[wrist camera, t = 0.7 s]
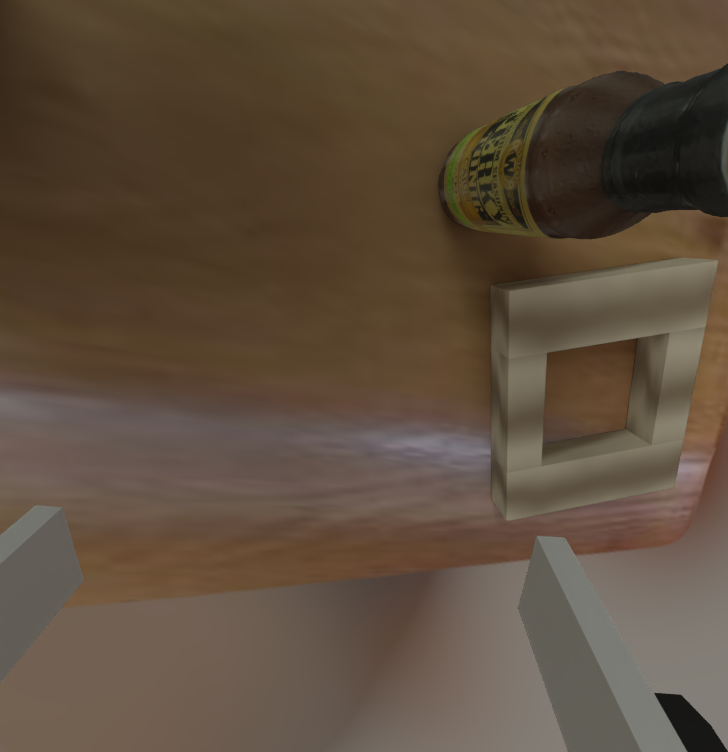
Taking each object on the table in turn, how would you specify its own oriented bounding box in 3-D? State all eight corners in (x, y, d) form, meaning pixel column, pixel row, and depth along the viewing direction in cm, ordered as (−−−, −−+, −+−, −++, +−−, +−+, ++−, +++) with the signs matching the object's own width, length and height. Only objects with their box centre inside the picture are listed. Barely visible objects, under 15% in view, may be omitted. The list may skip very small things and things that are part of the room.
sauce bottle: (437, 130, 27) (745, -89, 8) (526, 136, 28) (984, -50, 9) (429, 233, 29) (657, 245, 10) (511, 235, 30) (857, 250, 11)
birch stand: (490, 285, 31) (509, 291, 28) (682, 257, 32) (718, 260, 29) (491, 499, 38) (506, 521, 35) (648, 469, 39) (674, 487, 37)
